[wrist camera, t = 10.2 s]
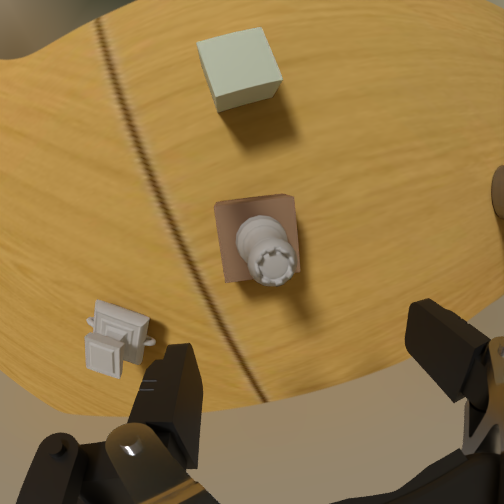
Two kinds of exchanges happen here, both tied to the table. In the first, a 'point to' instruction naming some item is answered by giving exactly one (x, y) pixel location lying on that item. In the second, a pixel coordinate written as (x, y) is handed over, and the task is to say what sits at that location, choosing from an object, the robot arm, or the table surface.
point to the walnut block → (240, 211)
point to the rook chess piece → (266, 250)
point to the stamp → (115, 338)
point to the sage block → (239, 68)
